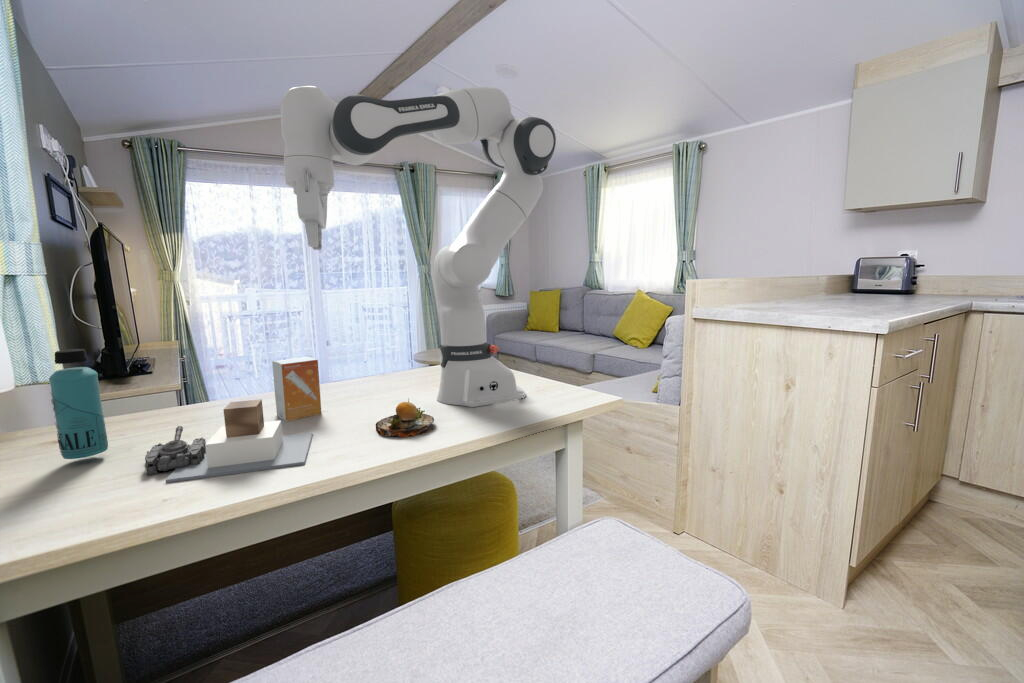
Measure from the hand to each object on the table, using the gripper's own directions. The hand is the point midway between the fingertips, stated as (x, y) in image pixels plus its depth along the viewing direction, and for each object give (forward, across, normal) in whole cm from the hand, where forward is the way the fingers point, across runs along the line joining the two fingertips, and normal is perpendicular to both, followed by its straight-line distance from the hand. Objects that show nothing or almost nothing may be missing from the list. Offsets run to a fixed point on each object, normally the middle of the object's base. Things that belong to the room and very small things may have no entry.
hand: (315, 248), depth 94 cm
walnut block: (+33, -12, +13) cm, 37 cm away
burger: (+38, -6, -15) cm, 41 cm away
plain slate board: (+37, -12, +13) cm, 41 cm away
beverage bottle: (+37, -4, +40) cm, 55 cm away
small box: (+37, +12, +7) cm, 40 cm away
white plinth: (+37, -12, +13) cm, 41 cm away
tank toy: (+38, -10, +24) cm, 46 cm away
